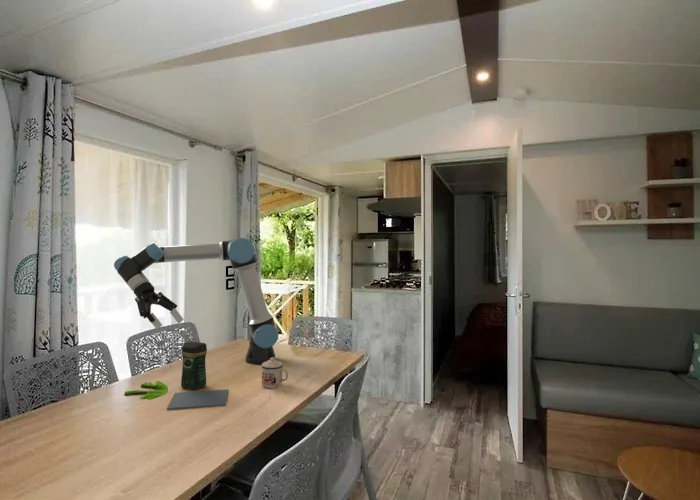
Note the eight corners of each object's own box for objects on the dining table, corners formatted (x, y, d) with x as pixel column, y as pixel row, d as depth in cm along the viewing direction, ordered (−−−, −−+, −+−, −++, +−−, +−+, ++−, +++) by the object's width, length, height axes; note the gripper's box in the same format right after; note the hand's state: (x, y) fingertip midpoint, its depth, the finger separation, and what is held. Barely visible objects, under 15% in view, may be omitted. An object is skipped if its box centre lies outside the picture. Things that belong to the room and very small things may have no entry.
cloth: (152, 404, 144) (152, 397, 144) (102, 398, 148) (102, 391, 148) (185, 385, 164) (186, 379, 164) (141, 380, 168) (141, 375, 168)
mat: (227, 390, 157) (227, 389, 157) (225, 405, 142) (225, 403, 142) (174, 394, 152) (174, 392, 152) (166, 409, 137) (166, 408, 137)
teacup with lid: (256, 387, 161) (257, 359, 161) (267, 380, 170) (268, 354, 170) (283, 391, 158) (283, 362, 158) (292, 383, 167) (293, 356, 167)
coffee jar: (209, 385, 163) (210, 341, 163) (195, 391, 155) (196, 345, 155) (191, 381, 166) (192, 338, 166) (177, 388, 159) (178, 342, 159)
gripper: (156, 289, 179) (183, 324, 176) (112, 295, 154) (143, 336, 151) (166, 279, 178) (194, 313, 174) (124, 283, 153) (155, 323, 150)
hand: (170, 324), depth 163 cm, fingers open, 13 cm apart
